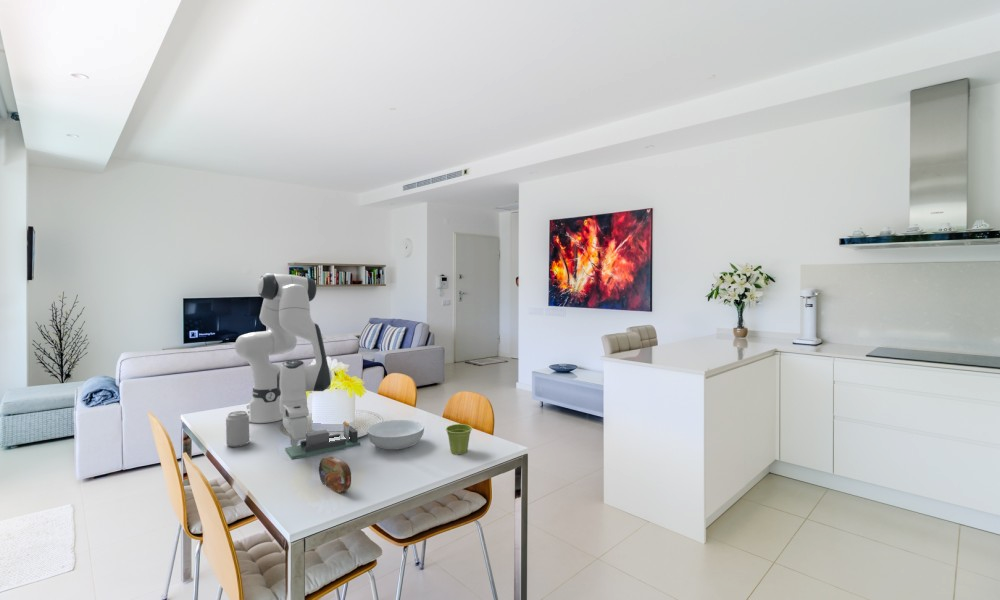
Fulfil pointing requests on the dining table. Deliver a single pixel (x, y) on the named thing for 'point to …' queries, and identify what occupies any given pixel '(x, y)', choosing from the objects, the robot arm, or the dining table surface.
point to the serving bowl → (395, 434)
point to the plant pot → (458, 438)
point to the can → (237, 428)
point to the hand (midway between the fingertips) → (294, 445)
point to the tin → (335, 474)
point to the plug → (317, 437)
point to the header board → (325, 444)
